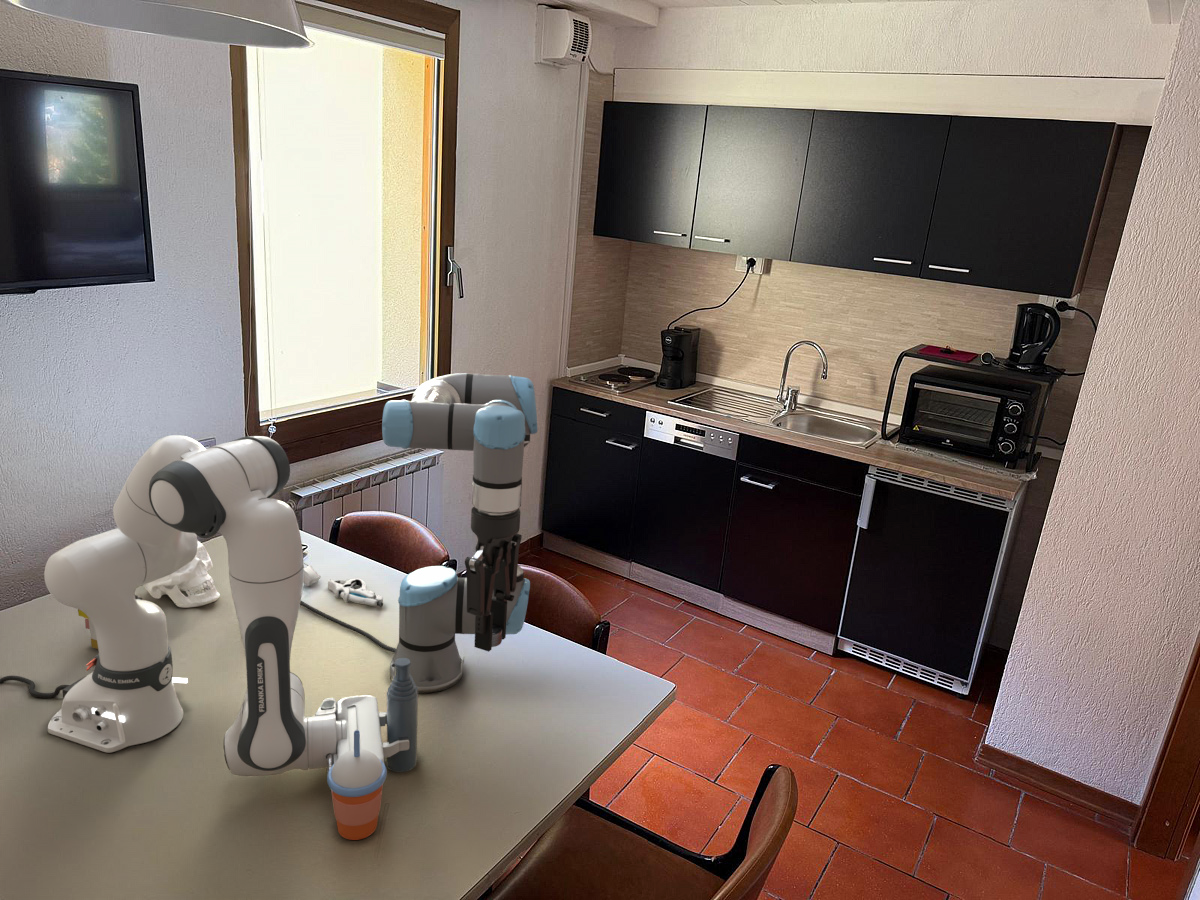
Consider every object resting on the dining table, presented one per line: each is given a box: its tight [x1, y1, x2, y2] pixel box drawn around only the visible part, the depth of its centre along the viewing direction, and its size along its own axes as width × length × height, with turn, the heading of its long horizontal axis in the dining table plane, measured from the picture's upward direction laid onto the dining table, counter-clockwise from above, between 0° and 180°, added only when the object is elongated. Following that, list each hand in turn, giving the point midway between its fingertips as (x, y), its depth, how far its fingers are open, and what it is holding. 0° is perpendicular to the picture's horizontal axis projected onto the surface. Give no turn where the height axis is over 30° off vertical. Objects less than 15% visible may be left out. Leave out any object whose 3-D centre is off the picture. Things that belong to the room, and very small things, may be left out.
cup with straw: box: [326, 730, 388, 841], centre depth 136 cm, size 9×9×18 cm
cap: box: [492, 624, 503, 648], centre depth 138 cm, size 4×4×2 cm
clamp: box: [303, 562, 322, 587], centre depth 219 cm, size 20×4×7 cm, turn 62°
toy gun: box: [327, 578, 384, 608], centre depth 212 cm, size 18×2×10 cm
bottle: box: [386, 658, 419, 773], centre depth 152 cm, size 5×5×21 cm
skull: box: [142, 540, 221, 609], centre depth 204 cm, size 13×22×16 cm, turn 73°
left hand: (407, 731), depth 153 cm, fingers closed on bottle, 5 cm apart
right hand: (490, 642), depth 138 cm, fingers closed on cap, 4 cm apart
